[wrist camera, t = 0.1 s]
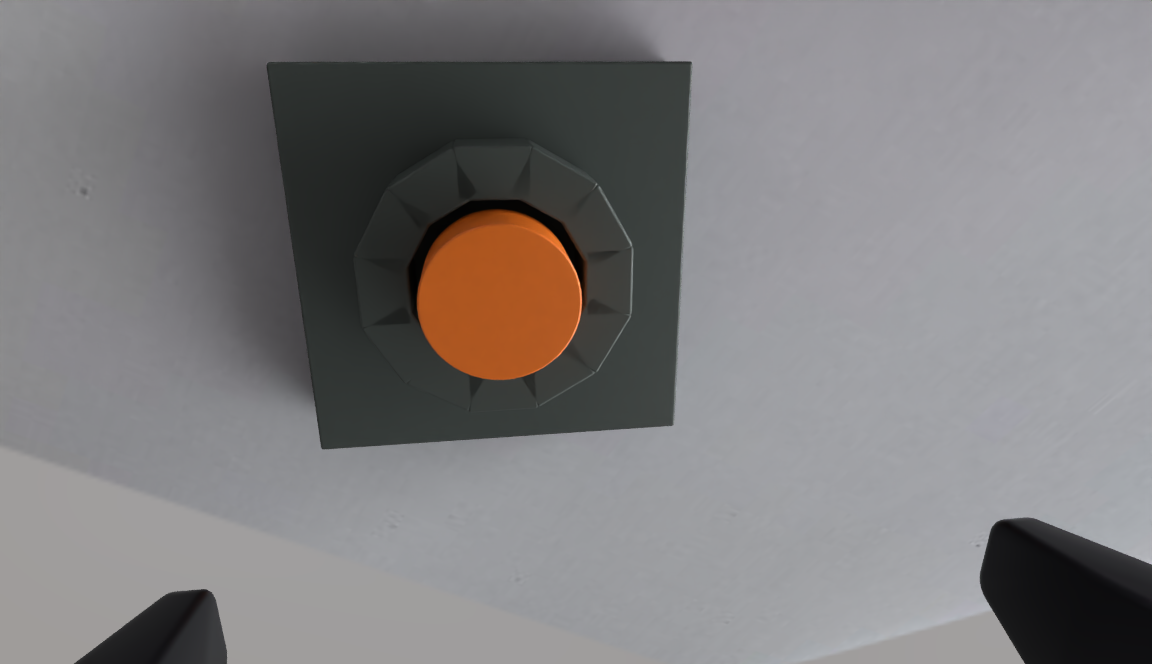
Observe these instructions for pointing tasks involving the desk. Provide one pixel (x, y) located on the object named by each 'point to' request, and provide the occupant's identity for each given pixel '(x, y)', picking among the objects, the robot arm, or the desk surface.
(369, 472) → the desk surface
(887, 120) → the desk surface
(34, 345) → the desk surface
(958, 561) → the desk surface
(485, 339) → the button
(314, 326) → the button box
